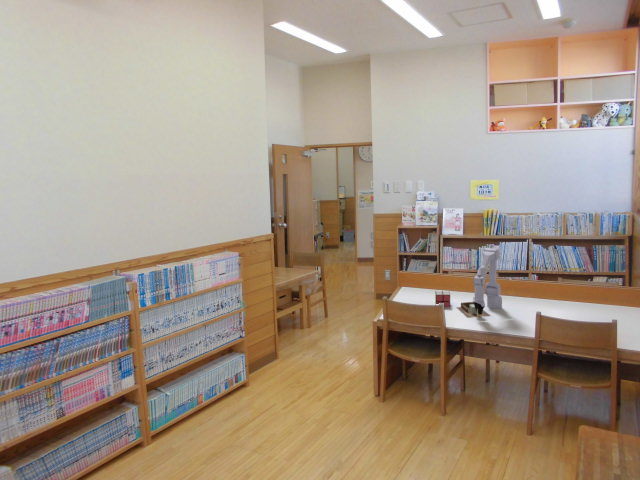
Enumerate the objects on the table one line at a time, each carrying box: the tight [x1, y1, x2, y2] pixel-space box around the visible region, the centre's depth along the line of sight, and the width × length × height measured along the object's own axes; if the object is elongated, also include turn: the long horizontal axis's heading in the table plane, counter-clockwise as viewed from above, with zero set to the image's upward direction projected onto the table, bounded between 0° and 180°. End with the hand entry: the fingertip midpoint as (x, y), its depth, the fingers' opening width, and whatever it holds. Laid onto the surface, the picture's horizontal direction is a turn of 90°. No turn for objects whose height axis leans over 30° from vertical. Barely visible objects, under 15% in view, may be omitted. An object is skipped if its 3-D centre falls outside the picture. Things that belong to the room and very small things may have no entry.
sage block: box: [469, 304, 482, 318], centre depth 315 cm, size 5×12×6 cm, turn 3°
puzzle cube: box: [434, 290, 451, 308], centre depth 339 cm, size 10×10×10 cm
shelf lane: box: [455, 301, 491, 318], centre depth 321 cm, size 16×22×4 cm
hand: (479, 313), depth 311 cm, fingers closed on sage block, 3 cm apart
